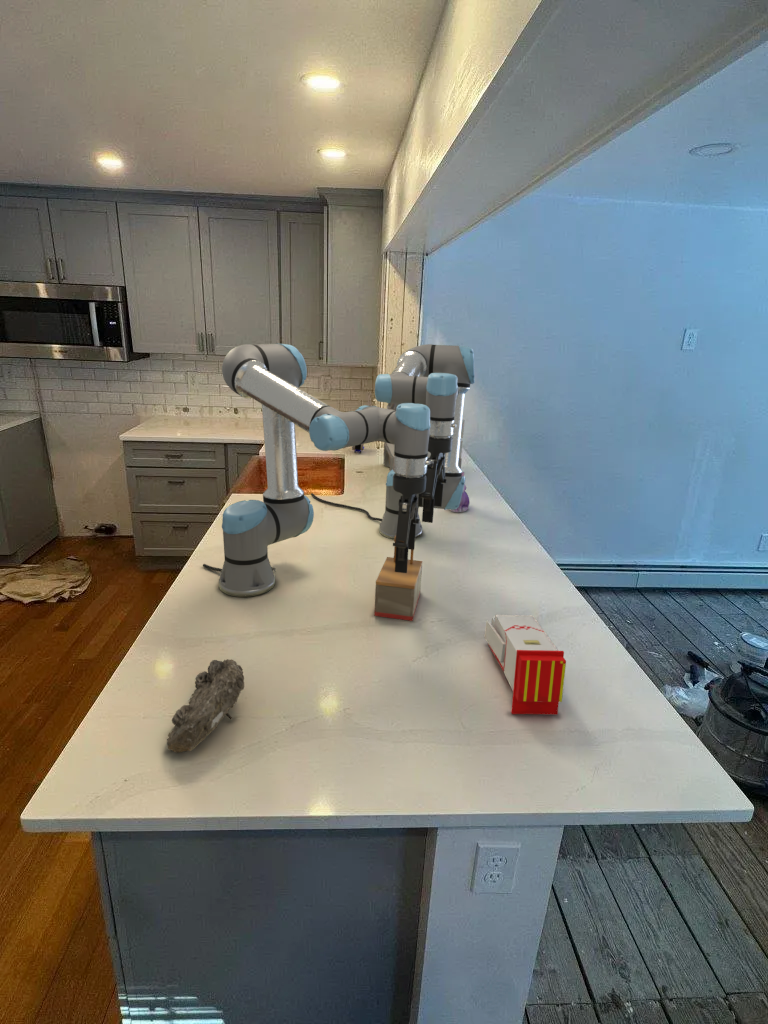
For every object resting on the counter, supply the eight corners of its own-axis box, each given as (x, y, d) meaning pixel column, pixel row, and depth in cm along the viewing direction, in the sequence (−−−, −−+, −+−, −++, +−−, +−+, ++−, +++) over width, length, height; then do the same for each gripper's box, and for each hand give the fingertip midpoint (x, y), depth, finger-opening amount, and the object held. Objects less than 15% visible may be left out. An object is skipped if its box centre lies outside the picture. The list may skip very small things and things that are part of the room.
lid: (386, 559, 158) (388, 531, 155) (422, 564, 156) (424, 535, 153) (375, 584, 143) (376, 553, 140) (414, 589, 142) (416, 558, 139)
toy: (530, 600, 137) (574, 657, 108) (525, 651, 140) (567, 720, 111) (480, 599, 137) (511, 656, 107) (477, 651, 139) (506, 719, 110)
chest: (385, 589, 160) (386, 560, 157) (420, 593, 158) (422, 564, 155) (374, 615, 146) (375, 584, 143) (412, 620, 145) (414, 589, 142)
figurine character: (364, 456, 305) (364, 447, 319) (364, 443, 302) (364, 434, 315) (351, 456, 305) (352, 446, 318) (351, 443, 302) (352, 434, 315)
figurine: (456, 514, 221) (459, 477, 216) (441, 506, 229) (444, 470, 224) (475, 511, 225) (479, 475, 220) (461, 503, 234) (464, 468, 229)
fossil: (192, 660, 117) (244, 628, 112) (224, 691, 120) (276, 661, 115) (142, 746, 98) (202, 712, 93) (182, 779, 101) (242, 748, 96)
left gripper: (420, 491, 115) (414, 584, 122) (431, 461, 139) (426, 541, 146) (383, 488, 116) (380, 580, 124) (401, 459, 140) (397, 538, 147)
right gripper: (444, 447, 133) (437, 531, 140) (459, 428, 155) (453, 501, 163) (413, 444, 134) (408, 527, 142) (432, 425, 157) (427, 498, 164)
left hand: (405, 559), depth 135 cm, fingers open, 13 cm apart
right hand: (432, 513), depth 152 cm, fingers open, 13 cm apart
